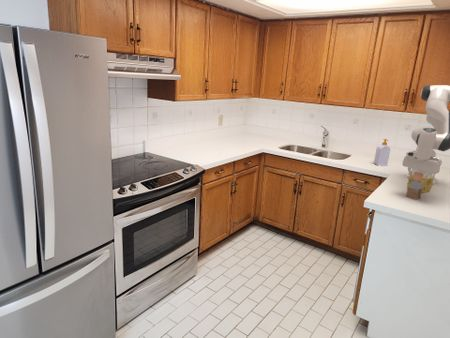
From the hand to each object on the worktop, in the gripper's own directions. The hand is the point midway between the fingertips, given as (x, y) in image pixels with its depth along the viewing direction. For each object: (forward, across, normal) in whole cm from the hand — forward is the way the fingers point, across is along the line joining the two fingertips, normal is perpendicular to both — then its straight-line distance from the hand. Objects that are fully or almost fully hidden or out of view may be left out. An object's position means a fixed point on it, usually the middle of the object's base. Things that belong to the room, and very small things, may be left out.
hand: (418, 176), depth 198 cm
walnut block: (+14, 0, 0) cm, 14 cm away
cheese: (+14, +5, -20) cm, 25 cm away
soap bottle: (+14, +53, -63) cm, 83 cm away
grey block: (+8, 0, 0) cm, 8 cm away
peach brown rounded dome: (+3, 0, 0) cm, 3 cm away
